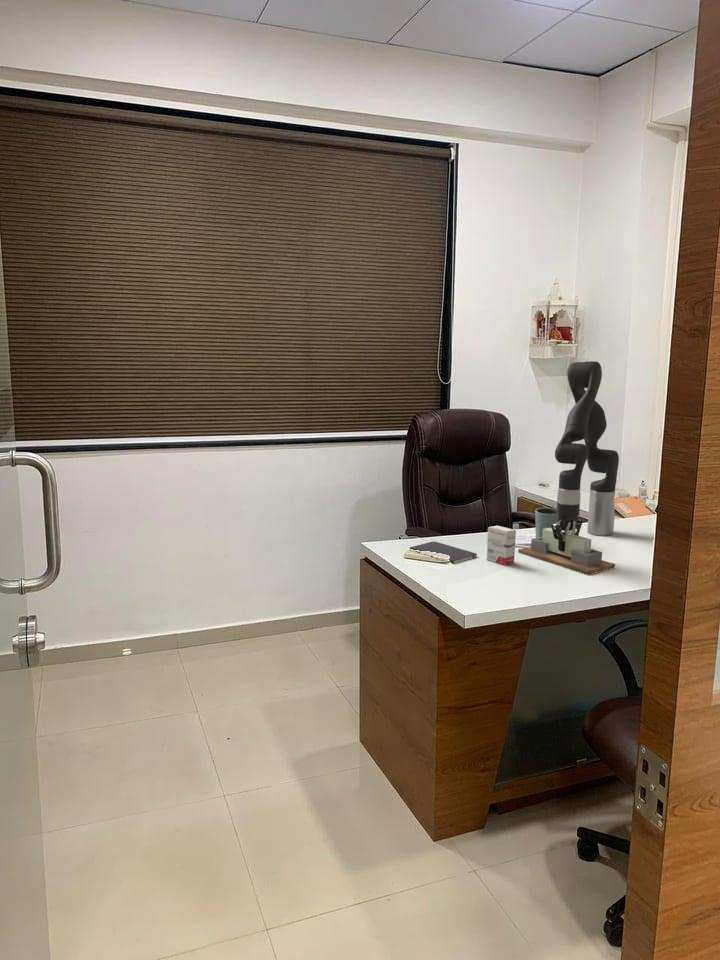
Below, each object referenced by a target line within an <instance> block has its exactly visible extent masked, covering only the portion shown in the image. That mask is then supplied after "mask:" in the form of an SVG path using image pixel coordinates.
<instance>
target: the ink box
mask: <svg viewBox="0 0 720 960" xmlns="http://www.w3.org/2000/svg"><path fill="white" fill-rule="evenodd" d="M516 533H517V530H516V529H512V528H509V527H504V526H502V525H501V526H500V525H494V526H489V527H487V541H486V544H487V545H486V561H490V562H493V563H496V564H499V565H503V566H507V565H511V564H515V549H516V535H517V534H516Z"/></svg>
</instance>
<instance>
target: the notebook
mask: <svg viewBox="0 0 720 960" xmlns="http://www.w3.org/2000/svg"><path fill="white" fill-rule="evenodd" d="M410 549H413V550H419V551H430V552H436V553H442V554H446V555H449V556H450V559H449V560H450V562H451V563H450V564H452V565H454V564H456V563H461V562H463V561H467V560H470V559H475V558H477V555H478V553H476V552H473V551H470V550H466V549H462V548H459V547H456V546H452V545H449V544H445V543H442V542H439V541H428V542H425V543H422V544H417V545H413V546H410V547H409V550H410Z"/></svg>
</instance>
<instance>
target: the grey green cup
mask: <svg viewBox="0 0 720 960" xmlns="http://www.w3.org/2000/svg"><path fill="white" fill-rule="evenodd" d="M534 511H535V512H534V514H535V523H534V524H535V537H536V538H538V537H542V535H543V529H546V528H552V526H551V525H552V524H555V523H557V520H558V517H559V516H558V514H557V513H556V511H557V508H555V507H554V508H553V507H537V508H535V510H534Z"/></svg>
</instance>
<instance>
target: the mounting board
mask: <svg viewBox="0 0 720 960" xmlns="http://www.w3.org/2000/svg"><path fill="white" fill-rule="evenodd" d="M517 552H518V553H519V554H522V555H525V556H528V557H530V558H531V557H532V558H535V559H536V560H540V561H544V562H547V563H550V564H552V565H555V566H559V567H561V566H562V568H565V569H568V570H570V571H574V572H577V571H578V572H577V573H580V572H581V574H583V573H584V575H586V574H587V576H589V575H588V574H590V575H592V573H593V574H596V573H595V572H597V573H600V571H601V572H603V570H604V571H607V569H608V570H611V569H610V568H612V569H614V567H616V564H615V563H613V562H610V561H609V562H608V561H607V560H603V559H602V563H601V564H598V565H594V566H591V567H584V566H581V565H578V564H575V563H572V562H571V557H568V556H565V555H562V554H559V553H555V552H552V551H549V550H548V554H543V553H540V552H537V551H533V550H531V546H527V547H523V548H518V551H517Z"/></svg>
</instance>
